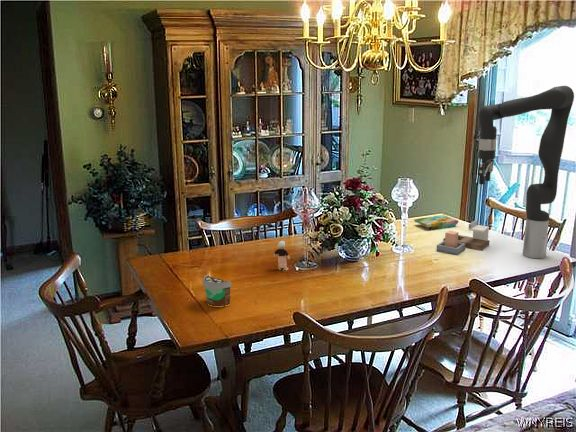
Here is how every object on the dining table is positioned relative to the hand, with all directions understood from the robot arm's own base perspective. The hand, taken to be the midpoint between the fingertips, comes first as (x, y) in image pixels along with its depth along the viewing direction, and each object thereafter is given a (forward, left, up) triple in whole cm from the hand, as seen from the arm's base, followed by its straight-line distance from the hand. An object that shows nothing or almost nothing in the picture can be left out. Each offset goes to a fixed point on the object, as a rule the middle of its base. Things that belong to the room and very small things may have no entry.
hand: (484, 182), depth 263 cm
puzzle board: (+5, +6, -30) cm, 31 cm away
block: (+7, +19, -29) cm, 35 cm away
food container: (+53, +129, -30) cm, 143 cm away
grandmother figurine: (+56, +85, -30) cm, 106 cm away
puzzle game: (+29, -16, -31) cm, 45 cm away
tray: (+7, +19, -30) cm, 36 cm away
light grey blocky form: (-1, +6, -27) cm, 28 cm away
